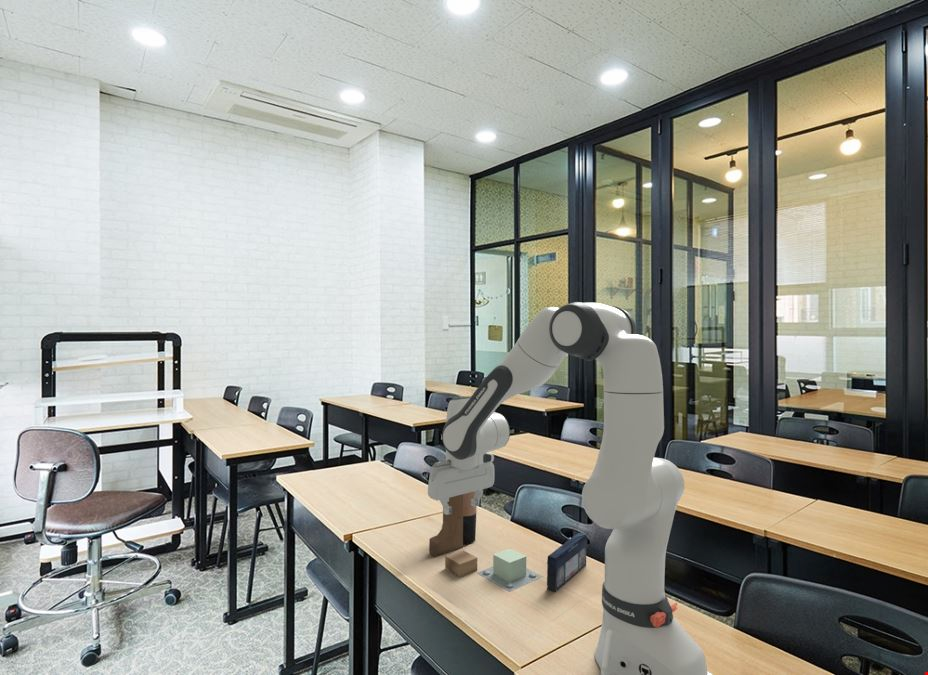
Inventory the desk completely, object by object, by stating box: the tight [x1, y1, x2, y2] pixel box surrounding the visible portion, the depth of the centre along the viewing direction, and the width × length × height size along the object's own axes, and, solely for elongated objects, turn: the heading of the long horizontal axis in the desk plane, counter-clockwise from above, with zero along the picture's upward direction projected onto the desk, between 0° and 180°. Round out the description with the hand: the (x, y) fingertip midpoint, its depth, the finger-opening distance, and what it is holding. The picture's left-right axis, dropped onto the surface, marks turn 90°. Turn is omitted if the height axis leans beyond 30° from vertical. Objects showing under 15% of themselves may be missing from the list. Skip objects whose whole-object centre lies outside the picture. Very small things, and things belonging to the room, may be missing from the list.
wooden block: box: [428, 494, 464, 558], centre depth 145 cm, size 9×4×18 cm, turn 124°
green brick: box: [492, 548, 527, 583], centre depth 130 cm, size 6×6×5 cm
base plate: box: [477, 566, 544, 592], centre depth 130 cm, size 12×12×2 cm
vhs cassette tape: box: [546, 532, 588, 593], centre depth 129 cm, size 18×3×10 cm, turn 141°
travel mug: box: [463, 491, 477, 545], centre depth 155 cm, size 8×8×20 cm
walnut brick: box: [444, 549, 478, 578], centre depth 132 cm, size 6×6×5 cm
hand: (461, 509), depth 132 cm, fingers open, 8 cm apart
